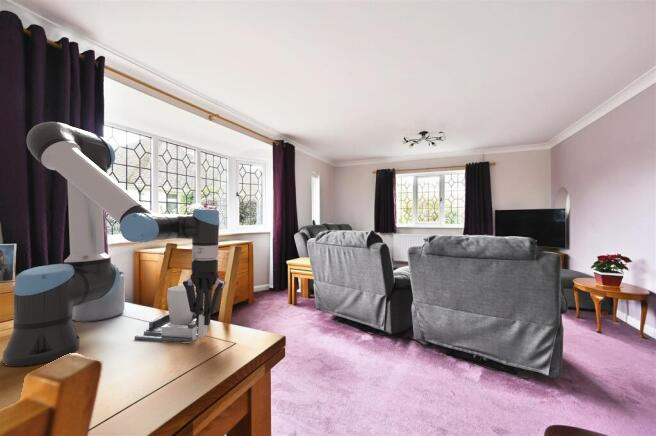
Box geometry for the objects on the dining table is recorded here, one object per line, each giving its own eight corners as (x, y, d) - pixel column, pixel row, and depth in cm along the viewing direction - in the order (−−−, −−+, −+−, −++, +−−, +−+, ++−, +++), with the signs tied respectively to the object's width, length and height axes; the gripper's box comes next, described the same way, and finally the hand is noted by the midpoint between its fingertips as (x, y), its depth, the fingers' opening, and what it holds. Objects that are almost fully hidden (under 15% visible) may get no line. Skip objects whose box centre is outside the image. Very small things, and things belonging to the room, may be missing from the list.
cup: (177, 317, 109) (178, 284, 109) (200, 319, 107) (201, 286, 107) (160, 326, 100) (161, 290, 100) (184, 328, 98) (185, 292, 98)
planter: (134, 311, 118) (135, 272, 118) (94, 325, 103) (95, 280, 103) (102, 307, 122) (103, 269, 122) (58, 320, 106) (59, 277, 106)
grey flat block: (161, 339, 92) (161, 322, 92) (166, 336, 94) (166, 320, 94) (192, 341, 91) (192, 324, 91) (196, 338, 93) (196, 322, 93)
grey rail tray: (145, 333, 96) (146, 317, 96) (172, 319, 110) (173, 305, 110) (186, 336, 95) (187, 319, 95) (208, 321, 109) (209, 307, 109)
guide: (134, 339, 91) (134, 336, 91) (145, 333, 96) (145, 330, 96) (190, 343, 90) (190, 340, 90) (198, 337, 94) (198, 334, 94)
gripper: (177, 259, 89) (175, 338, 89) (219, 261, 87) (217, 341, 87) (191, 256, 96) (189, 329, 96) (230, 258, 95) (228, 331, 95)
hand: (202, 335), depth 92 cm, fingers closed
